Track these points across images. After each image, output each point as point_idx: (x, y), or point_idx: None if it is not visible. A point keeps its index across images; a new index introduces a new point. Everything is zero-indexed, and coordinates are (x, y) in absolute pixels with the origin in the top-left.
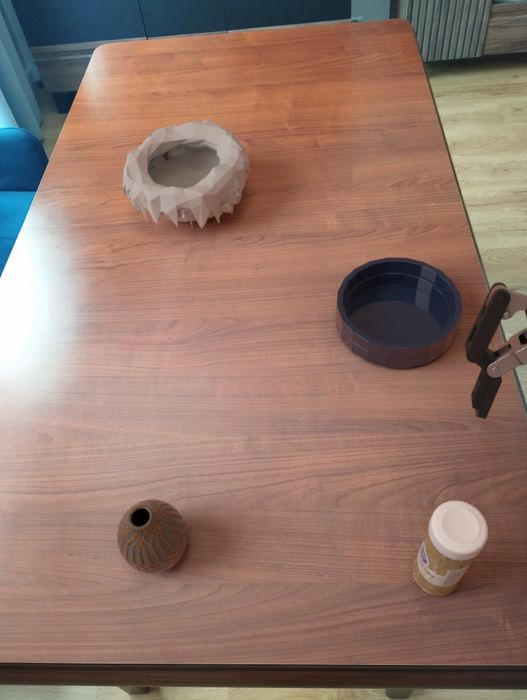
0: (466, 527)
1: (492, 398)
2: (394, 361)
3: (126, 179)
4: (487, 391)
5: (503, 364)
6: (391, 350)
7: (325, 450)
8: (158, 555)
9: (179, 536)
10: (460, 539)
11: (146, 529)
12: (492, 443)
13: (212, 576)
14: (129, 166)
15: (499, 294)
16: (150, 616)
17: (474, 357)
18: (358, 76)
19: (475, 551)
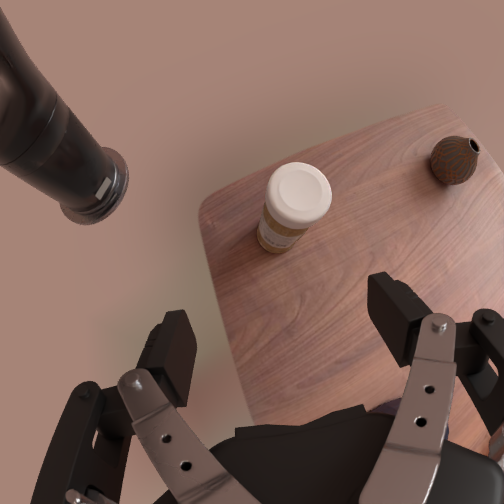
0: (293, 191)
1: (392, 294)
2: (383, 409)
3: None
4: (409, 298)
5: (440, 339)
6: (396, 413)
7: None
8: (447, 140)
9: (447, 158)
10: (294, 175)
11: (466, 140)
12: (269, 383)
13: (408, 164)
14: None
15: None
16: (417, 132)
17: (487, 314)
18: None
19: (274, 172)
